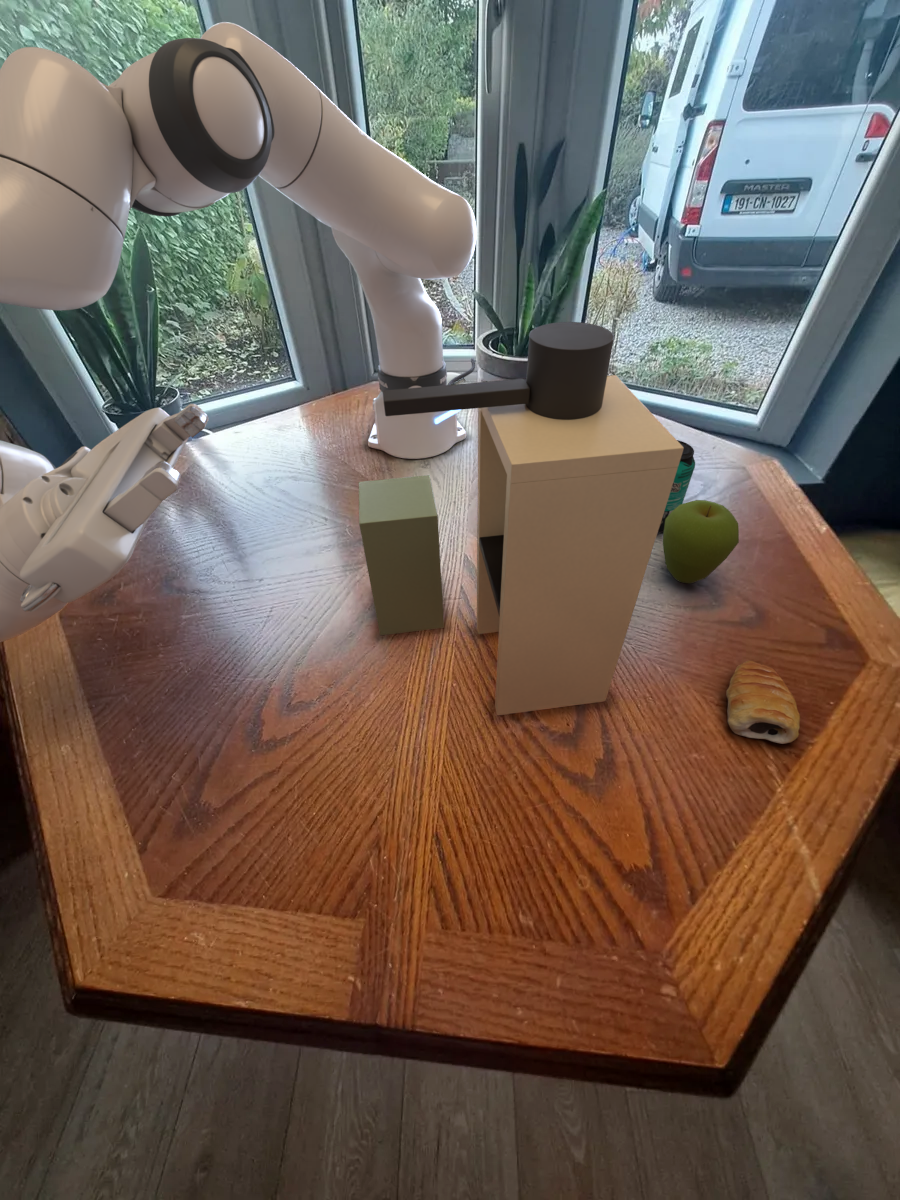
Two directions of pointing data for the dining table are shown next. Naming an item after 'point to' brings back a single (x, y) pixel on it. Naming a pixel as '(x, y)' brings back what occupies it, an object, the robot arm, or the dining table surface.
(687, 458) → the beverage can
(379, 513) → the rectangular block
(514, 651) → the tall cream box
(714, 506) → the apple
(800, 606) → the dining table surface
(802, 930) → the dining table surface
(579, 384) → the measuring cup
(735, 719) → the pastry
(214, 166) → the robot arm
